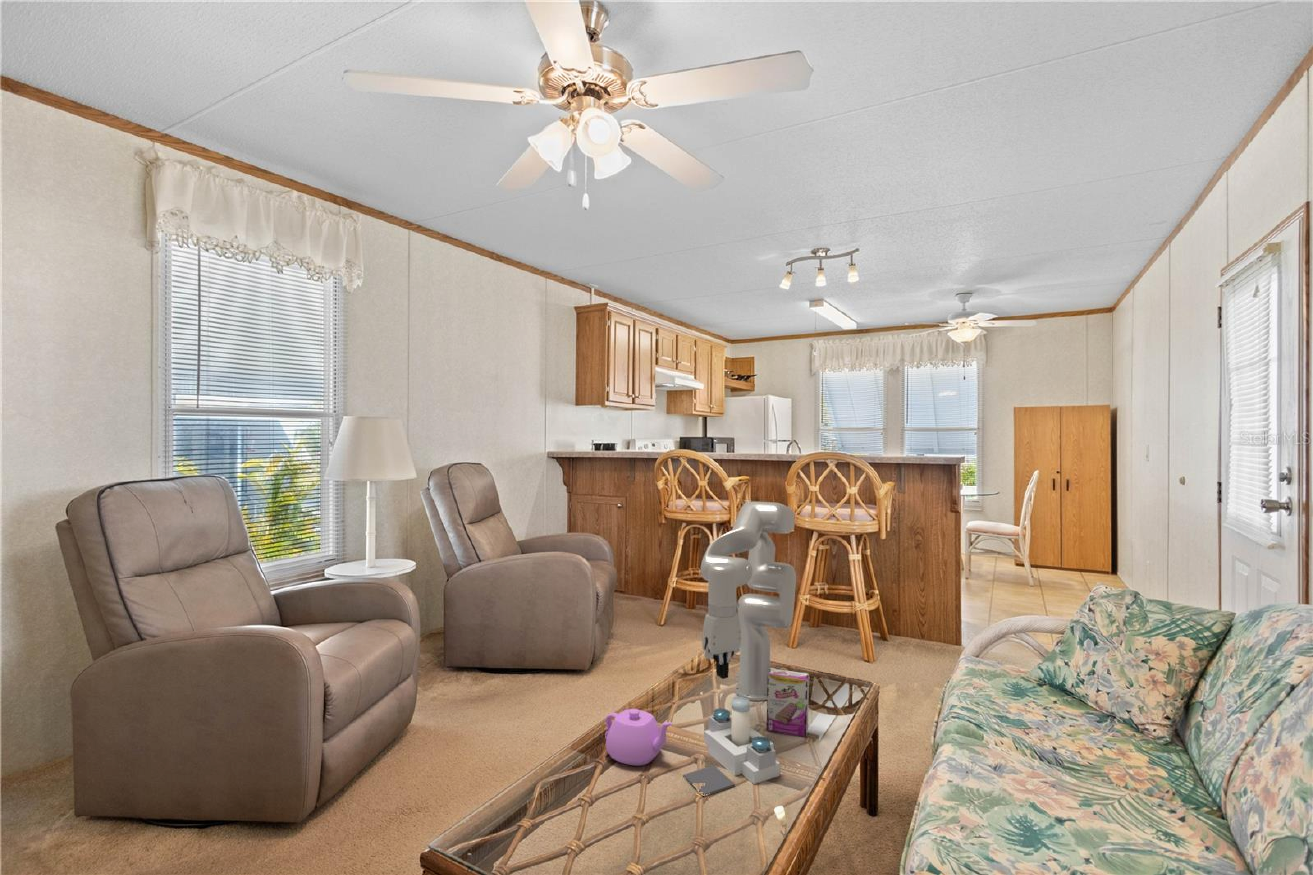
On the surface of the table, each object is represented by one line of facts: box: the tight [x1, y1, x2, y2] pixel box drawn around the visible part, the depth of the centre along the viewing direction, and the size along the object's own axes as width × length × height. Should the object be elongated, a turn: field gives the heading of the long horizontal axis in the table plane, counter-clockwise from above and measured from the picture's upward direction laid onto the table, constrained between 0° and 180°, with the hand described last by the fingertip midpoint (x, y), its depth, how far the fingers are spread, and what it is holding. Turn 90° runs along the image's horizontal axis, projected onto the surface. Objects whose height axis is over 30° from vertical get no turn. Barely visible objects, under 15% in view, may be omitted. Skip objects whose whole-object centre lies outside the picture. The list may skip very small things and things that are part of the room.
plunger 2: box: [752, 736, 771, 754], centre depth 150 cm, size 4×4×5 cm
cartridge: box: [731, 695, 751, 747], centre depth 157 cm, size 5×5×15 cm
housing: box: [703, 715, 781, 785], centre depth 157 cm, size 22×12×6 cm, turn 28°
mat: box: [682, 764, 736, 795], centre depth 147 cm, size 9×9×1 cm
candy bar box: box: [766, 667, 810, 738], centre depth 171 cm, size 11×5×16 cm, turn 71°
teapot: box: [604, 708, 673, 767], centre depth 158 cm, size 20×13×12 cm, turn 62°
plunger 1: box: [712, 707, 731, 723], centre depth 165 cm, size 4×4×5 cm
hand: (722, 676), depth 165 cm, fingers closed
